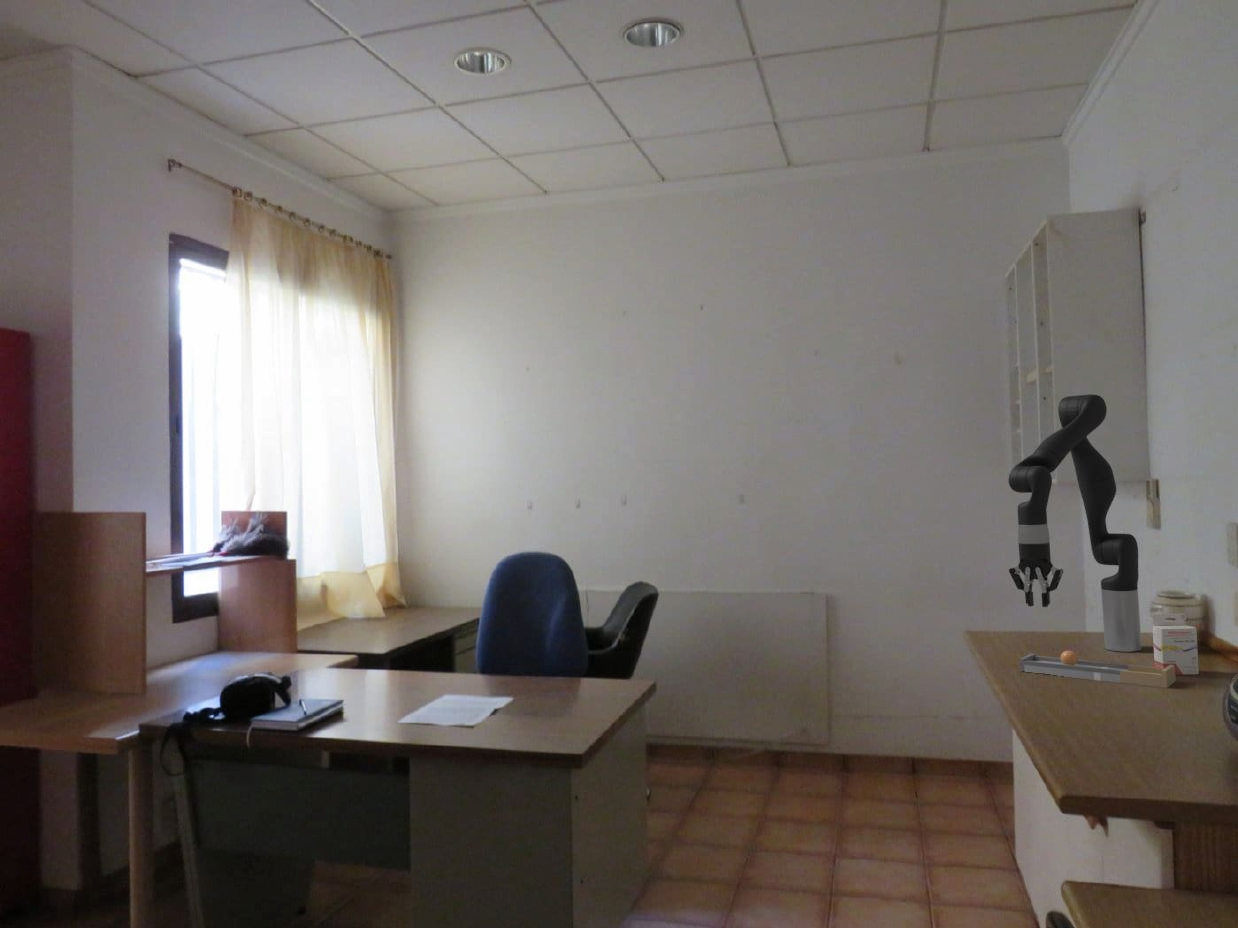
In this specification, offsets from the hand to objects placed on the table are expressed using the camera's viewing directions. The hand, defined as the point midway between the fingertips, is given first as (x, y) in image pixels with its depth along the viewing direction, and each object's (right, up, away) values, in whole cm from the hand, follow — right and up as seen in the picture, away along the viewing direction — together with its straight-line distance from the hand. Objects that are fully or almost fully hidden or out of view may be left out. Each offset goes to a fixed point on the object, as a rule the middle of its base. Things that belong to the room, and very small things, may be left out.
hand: (1037, 605), depth 238 cm
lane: (+11, -16, -10) cm, 22 cm away
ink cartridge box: (+31, -16, -10) cm, 36 cm away
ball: (+6, -13, -5) cm, 15 cm away
